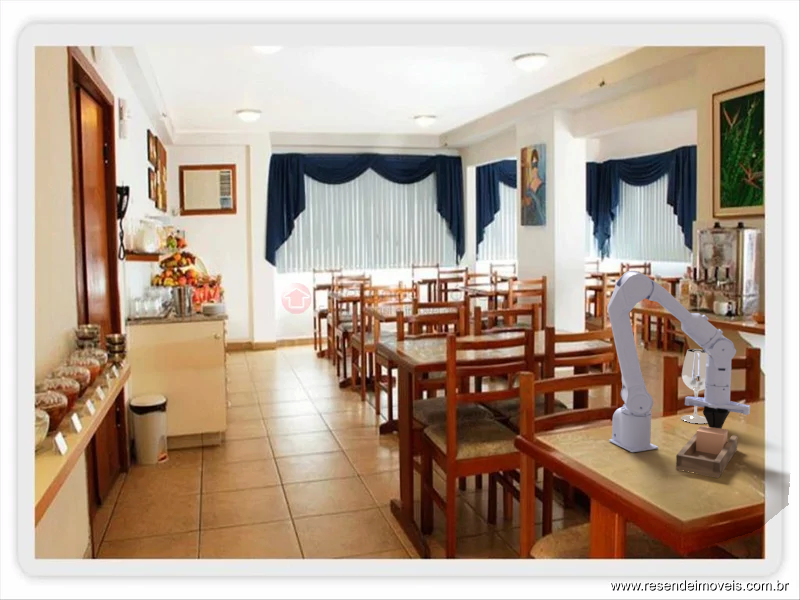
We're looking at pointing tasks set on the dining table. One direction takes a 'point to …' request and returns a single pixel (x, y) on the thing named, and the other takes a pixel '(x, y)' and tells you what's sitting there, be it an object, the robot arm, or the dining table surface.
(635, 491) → the dining table surface
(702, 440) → the block
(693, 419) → the wineglass
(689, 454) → the shallow wooden tray
